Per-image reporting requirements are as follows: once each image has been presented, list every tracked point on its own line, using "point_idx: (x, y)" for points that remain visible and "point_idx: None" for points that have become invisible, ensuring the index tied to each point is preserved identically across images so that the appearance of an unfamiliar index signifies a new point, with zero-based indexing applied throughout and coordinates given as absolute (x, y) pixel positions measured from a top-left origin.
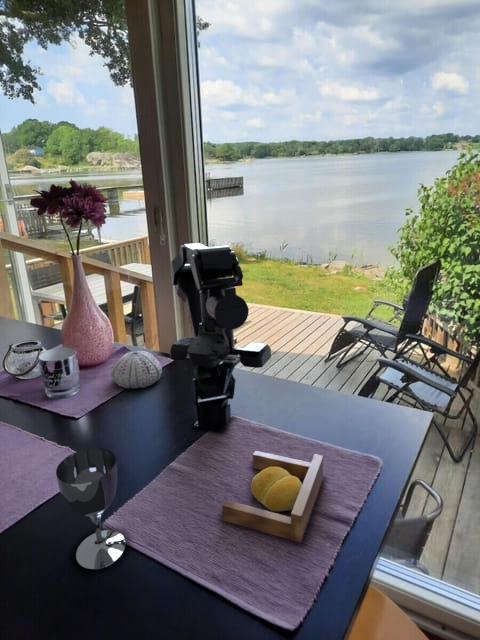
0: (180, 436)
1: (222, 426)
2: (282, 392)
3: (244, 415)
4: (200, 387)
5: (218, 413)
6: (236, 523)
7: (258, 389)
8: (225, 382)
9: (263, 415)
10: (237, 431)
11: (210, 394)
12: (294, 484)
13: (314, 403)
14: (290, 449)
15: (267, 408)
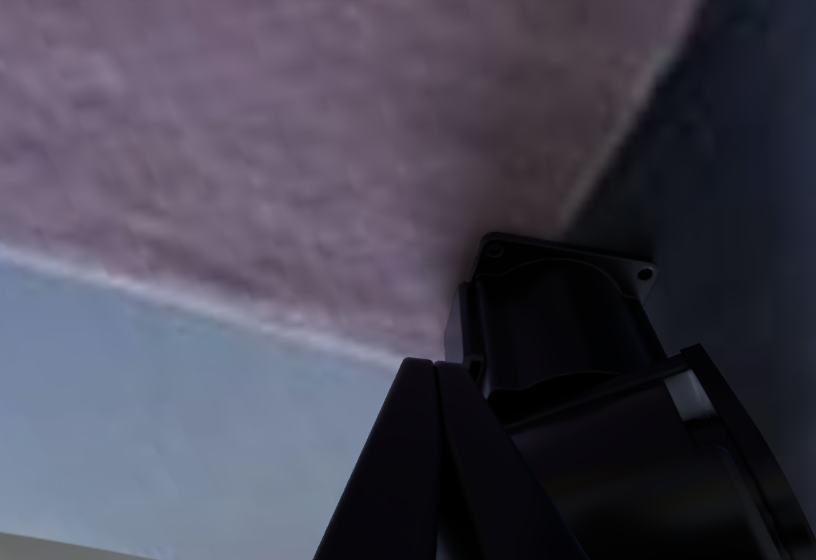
0: (739, 160)
1: (480, 273)
2: (260, 537)
3: (386, 382)
4: (729, 472)
5: (511, 331)
6: None
7: None
8: (326, 530)
9: (289, 391)
10: (387, 254)
11: (592, 421)
12: None
13: (91, 487)
14: (23, 134)
15: (288, 439)
